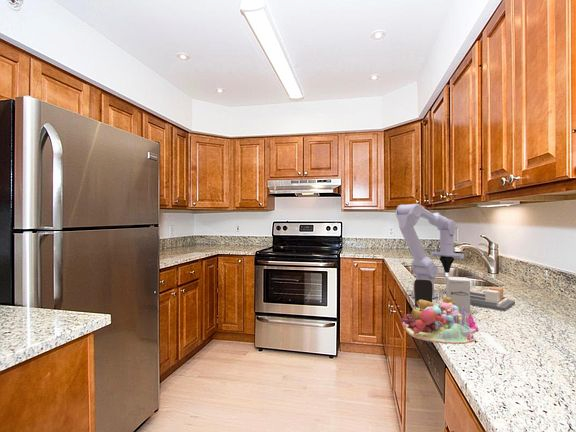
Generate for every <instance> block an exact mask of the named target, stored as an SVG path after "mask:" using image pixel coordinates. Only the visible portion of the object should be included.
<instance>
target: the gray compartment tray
mask: <svg viewBox="0 0 576 432" xmlns="http://www.w3.org/2000/svg"><path fill="white" fill-rule="evenodd" d="M514 305H516V301H515V300H511V299H510V297H505V296H503V300H500V302H498V303H495V302H490V301H485V293H481V292H474V291H470V306H475V307H480V308H485V309H492V310H495V311H502V312H505V311H507V310H508V309H510V308H511V307H513V306H514Z"/></svg>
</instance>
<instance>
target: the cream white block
mask: <svg viewBox="0 0 576 432" xmlns="http://www.w3.org/2000/svg"><path fill="white" fill-rule="evenodd" d="M484 292H485V293H484V294H485V301H490V302H495V303H498V302H500V291H496V290H489V288H488V289H486V290H484Z"/></svg>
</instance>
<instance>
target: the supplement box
mask: <svg viewBox="0 0 576 432" xmlns="http://www.w3.org/2000/svg"><path fill="white" fill-rule="evenodd" d="M445 281H446V283H445V284H446V291H445V292H446V293H445V295H446V296H445V297H450V298H451V299H452V301H451V302H453V301H455V305H456V306H457V307H458V308H459V312H460V313H461V309H463V306H464V311H465V313H466V309H467V307H468V313H471V305H470V292H471V280H470V279H469V278H468V277H466V276H465V277H464V276H463V277H461V276H448V275H447V276H446V279H445ZM464 311H463V314H464Z"/></svg>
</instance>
